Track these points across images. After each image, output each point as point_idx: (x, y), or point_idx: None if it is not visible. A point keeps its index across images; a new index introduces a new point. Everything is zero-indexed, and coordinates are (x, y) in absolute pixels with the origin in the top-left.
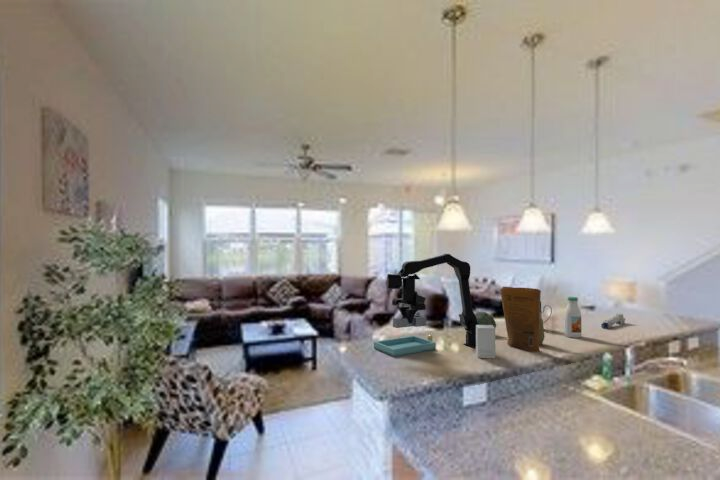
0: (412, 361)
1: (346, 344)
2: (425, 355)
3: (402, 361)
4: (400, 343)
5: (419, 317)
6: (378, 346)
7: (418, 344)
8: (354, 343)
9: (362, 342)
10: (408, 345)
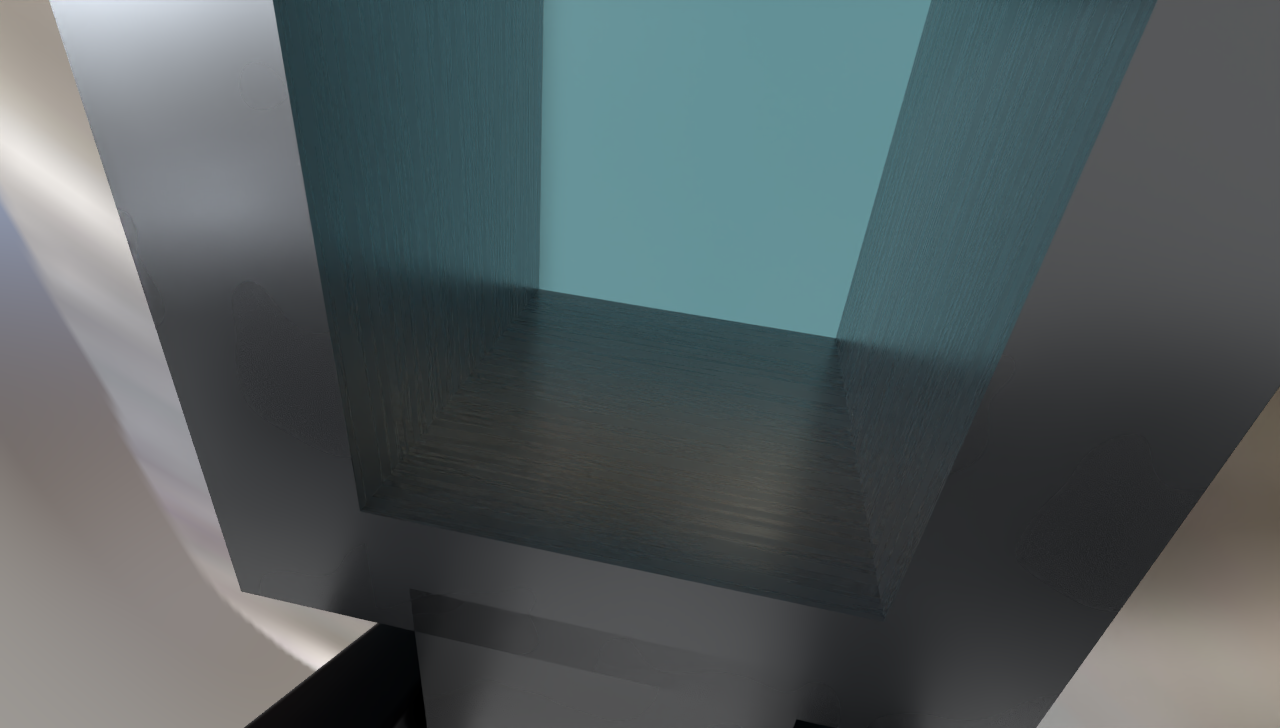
0: (1188, 638)
1: (231, 596)
2: None
3: (1076, 685)
4: None
5: (1091, 504)
6: None
7: (740, 7)
8: (214, 536)
9: (195, 466)
10: (672, 224)
